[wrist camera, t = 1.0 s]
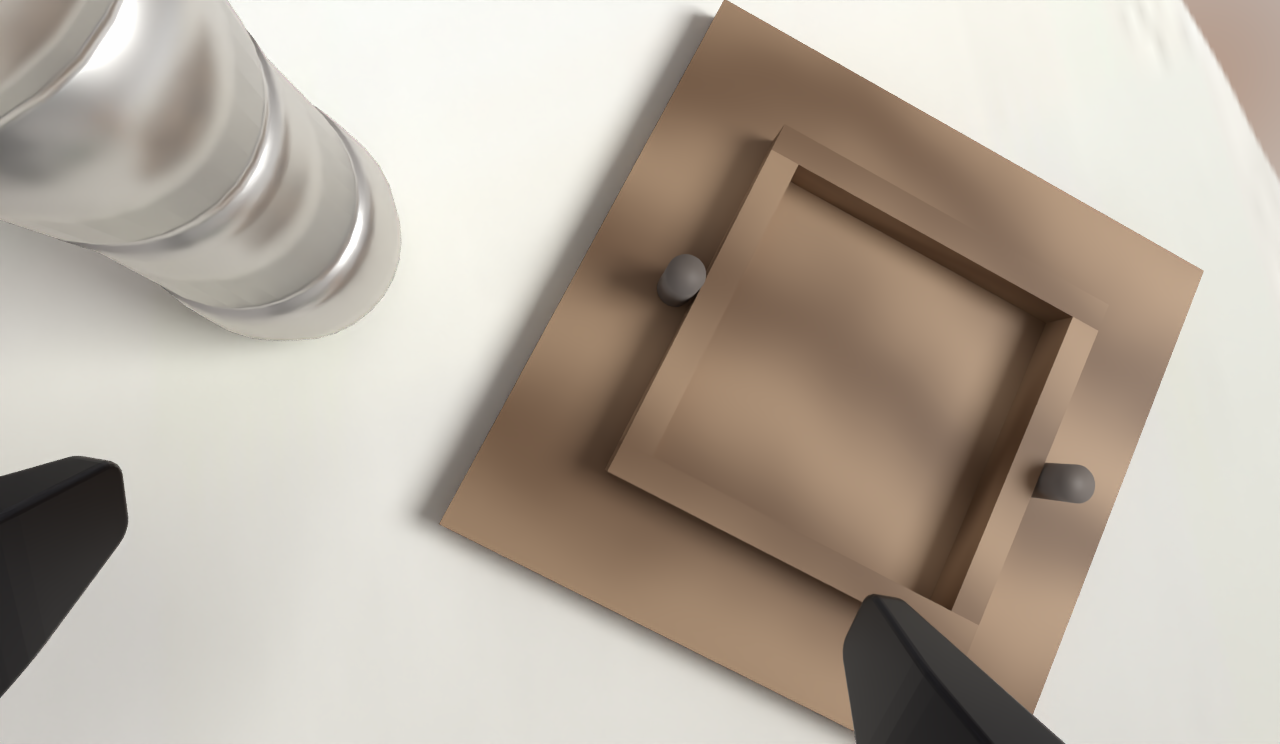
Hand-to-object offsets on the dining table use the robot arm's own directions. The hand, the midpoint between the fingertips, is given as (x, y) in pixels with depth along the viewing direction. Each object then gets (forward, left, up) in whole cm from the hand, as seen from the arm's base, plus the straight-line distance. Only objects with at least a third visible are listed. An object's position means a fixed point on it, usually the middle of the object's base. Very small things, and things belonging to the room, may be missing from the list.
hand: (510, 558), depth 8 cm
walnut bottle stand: (+9, -5, -13) cm, 17 cm away
